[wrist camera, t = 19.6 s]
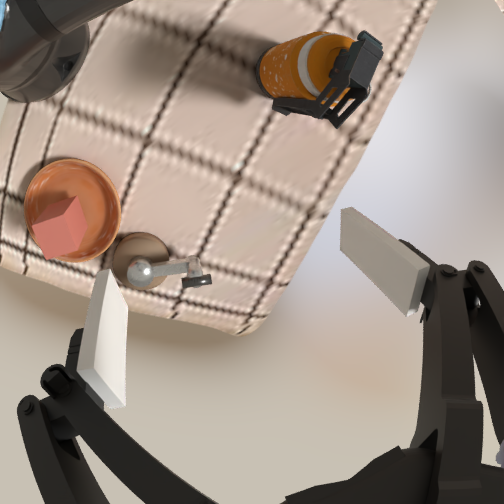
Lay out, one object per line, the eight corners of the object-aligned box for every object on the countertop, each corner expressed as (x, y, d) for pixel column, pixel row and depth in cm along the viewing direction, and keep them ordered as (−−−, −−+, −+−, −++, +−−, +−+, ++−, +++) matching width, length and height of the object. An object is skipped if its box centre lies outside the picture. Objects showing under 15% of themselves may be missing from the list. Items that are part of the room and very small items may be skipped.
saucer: (47, 140, 32) (39, 143, 30) (139, 179, 40) (137, 184, 37) (22, 233, 37) (15, 242, 34) (104, 266, 45) (101, 276, 42)
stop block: (48, 205, 34) (31, 225, 28) (77, 195, 35) (63, 214, 29) (59, 235, 37) (46, 259, 31) (88, 226, 38) (77, 250, 32)
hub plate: (106, 241, 42) (104, 249, 40) (160, 225, 44) (160, 233, 41) (125, 286, 47) (124, 296, 45) (175, 273, 48) (176, 282, 46)
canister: (319, 62, 37) (414, 57, 21) (292, 123, 41) (376, 148, 25) (268, 36, 34) (346, 2, 17) (238, 100, 38) (299, 104, 21)
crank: (130, 279, 43) (128, 305, 38) (125, 257, 41) (122, 281, 36) (205, 269, 46) (212, 293, 41) (204, 247, 44) (210, 269, 39)
